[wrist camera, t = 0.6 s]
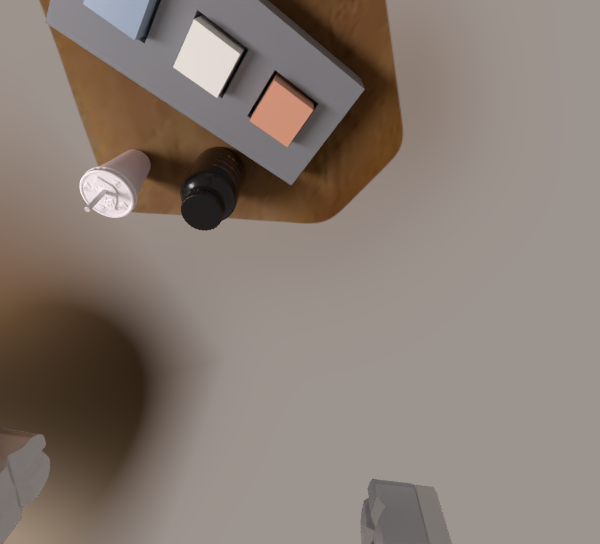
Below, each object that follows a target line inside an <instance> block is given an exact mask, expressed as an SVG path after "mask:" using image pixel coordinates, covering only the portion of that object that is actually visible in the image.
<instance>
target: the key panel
mask: <svg viewBox="0 0 600 544" xmlns="http://www.w3.org/2000/svg"><path fill="white" fill-rule="evenodd" d="M83 2H84V0H50V4H49V8H48V13H47V17H46V23H47V24H48V25H50V26H51V27H53V28H54V29H56V30H57V31H59V32H60V33H62V34H64V35H65V36H67V37H68V38H70V39H71V40H73V41H74V42H76V43H77V44H79V45H80V46H82V47H83V48H85V49H86V50H88V51H89V52H91V53H92V54H94V55H95V56H97V57H98V58H100V59H101V60H103V61H104V62H106V63H107V64H109V65H110V66H112V67H113V68H115V69H116V70H118V71H119V72H121V73H122V74H124V75H125V76H127V77H128V78H130V79H131V80H133V81H134V82H136V83H137V84H139V85H140V86H142V87H143V88H145V89H146V90H148V91H149V92H151V93H152V94H154V95H155V96H157V97H158V98H160V99H162V100H163V101H165V102H166V103H168V104H169V105H171V106H172V107H174V108H175V109H177V110H178V111H180V112H181V113H183V114H184V115H186V116H187V117H189V118H190V119H192V120H193V121H195V122H196V123H198V124H199V125H201V126H202V127H204V128H205V129H207V130H208V131H210V132H211V133H213V134H214V135H216V136H217V137H219V138H220V139H222V140H223V141H225V142H226V143H228V144H229V145H231V146H232V147H234V148H235V149H237V150H238V151H240V152H241V153H243V154H244V155H246V156H247V157H249V158H250V159H252V160H253V161H255V162H256V163H258V164H259V165H261V166H263V167H264V168H266V169H267V170H269V171H270V172H272V173H273V174H275V175H276V176H278V177H279V178H281V179H282V180H284V181H285V182H287V183H288V184H290V185H292V184H293V183H294V181H295V180H296V179H297V177H298V176H299V175H300V174H301V172H302V171H303V170H304V168H305V167H306V166H307V164H308V163H309V162H310V160H311V159H312V158H313V156H314V155H315V154H316V153H317V151H318V150H319V149H320V147H321V146H322V145H323V143H324V142H325V141H326V139H327V138H328V137H329V135H330V134H331V133H332V132H333V130H334V129H335V128H336V126H337V125H338V124H339V122H340V121H341V120H342V118H343V117H344V116H345V115H346V113H347V112H348V111H349V109H350V108H351V107H352V105H353V104H354V103H355V101H356V100H357V99H358V97H359V96H360V95H361V94H362V92H363V91H364V90H365V88H364V86H363V83H362V80H361V78H360V77H359V76H357V75H356V74H355V73H354V72H353V71H352V70H350V69H349V68H348V67H347V66H346V65H344V64H343V63H342V62H341V61H340V60H338V59H337V58H336V57H335V56H334V55H333V54H331V53H330V52H329V51H328V50H327V49H325V48H324V47H323V46H322V45H321V44H320V43H318V42H317V41H316V40H315V39H314V38H312V37H311V36H310V35H309V34H308V33H306V32H305V31H304V30H303V29H302V28H301V27H299V26H298V25H297V24H296V23H295V22H293V21H292V20H291V19H290V18H289V17H288V16H286V15H285V14H284V13H283V12H282V11H280V10H279V9H278V8H277V7H276V6H275V5H273V4H272V3H271V2H270V1H269V0H161V2H160V4H159V7H158V10H157V12H156V15H155V18H154V20H153V23H152V25H151V28H150V31H149V33H148V35H147V36H144V37H142V38H139V39H137V40H133V39H132V38H131V37H129V36H128V35H126V34H125V33H123V32H122V31H121V30H119V29H118V28H116V27H115V26H113V25H112V24H111V23H109V22H108V21H106V20H105V19H104V18H102V17H101V16H99V15H98V14H96V13H95V12H94V11H92V10H91V9H89V8H88V7H86V6H85V5H84V4H83ZM202 15H205V16H206V17H207V18H208V19H210V20H211V21H212V22H214V23H215V24H216V25H218V26H219V27H220V28H221V29H223V30H224V31H225V32H227V33H228V34H229V35H230V36H232V37H233V38H234V39H236V40H237V41H238V42H239V43H241V44H242V45H243V46H245V47H246V49H245V51H244V53H243V55H242V57H241V58H240V60H239V62H238V64H237V66H236V68H235V70H234V72H233V73H232V75H231V77H230V79H229V81H228V83H227V85H226V86H225V88H224V89H223V91H222V92H221V93H220V95H219V96H218V97H217V98H216V97H215V96H213V95H212V94H210V93H209V92H208V91H206V90H205V89H203V88H202V87H200V86H199V85H198V84H196V83H195V82H193V81H192V80H190V79H189V78H188V77H186V76H185V75H183V74H182V73H180V72H179V71H178V70H176V69H175V68H173V66H174V63H175V61H176V59H177V57H178V54H179V52H180V50H181V47H182V45H183V43H184V41H185V38H186V36H187V34H188V31H189V29H190V27H191V25H192V22H193V20H194V19H195V18H197V17H200V16H202ZM277 72H278V73H279V74H281V75H282V76H283V77H285V78H286V79H287V80H288V81H290V82H291V83H292V84H294V85H295V86H296V87H297V88H299V89H300V90H301V91H303V92H304V93H305V94H307V95H308V96H309V97H310V98H312V99H313V100H314V109H313V112H312V113H311V114H310V116H309V117H308V119H307V120H306V122H305V123H304V124H303V126H302V127H301V129H300V130H299V132H298V133H297V134H296V136H295V137H294V139H293V140H292V141H291V143H290V144H289V146H288V147H286V146H284V145H283V144H282V143H280V142H279V141H277V140H276V139H275V138H273V137H272V136H270V135H269V134H267V133H266V132H265V131H263V130H262V129H260V128H259V127H257V126H256V125H255V124H253V123H252V122H250V119H251V116H252V114H253V112H254V110H255V108H256V106H257V104H258V103H259V101H260V100H261V98H262V96H263V95H264V93H265V91H266V90H267V88H268V86H269V85H270V83H271V81H272V80H273V78H274V76H275V75H276V73H277Z"/></svg>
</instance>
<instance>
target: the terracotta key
mask: <svg viewBox="0 0 600 544" xmlns="http://www.w3.org/2000/svg"><path fill="white" fill-rule="evenodd" d="M313 109H314V100H313V99H312V98H310V97H309V96H308V95H307V94H305V93H304V92H303V91H301V90H300V89H299V88H297V87H296V86H295V85H294V84H292V83H291V82H290V81H288V80H287V79H286V78H285V77H283V76H282V75H281V74H279V73H278V72H277V73H276V75H275V76H274V78H273V80H272V81H271V83H270V85H269V86H268V88H267V90H266V91H265V93H264V95H263V96H262V98H261V100H260V101H259V103H258V104H257V106H256V108H255V110H254V112H253V114H252V116H251V119H250V122H252V123H253V124H255V125H256V126H257V127H259V128H260V129H262V130H263V131H265V132H266V133H267V134H269V135H270V136H272V137H273V138H275V139H276V140H277V141H279V142H280V143H282V144H283V145H284V146H286V147H288V146H289V144H290V143H291V141H292V140H293V139H294V137H295V136H296V134H297V133H298V132H299V130H300V129H301V127H302V126H303V124H304V123H305V122H306V120H307V119H308V117H309V116H310V114H311V113H312V112H313Z"/></svg>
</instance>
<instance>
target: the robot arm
mask: <svg viewBox="0 0 600 544" xmlns="http://www.w3.org/2000/svg"><path fill="white" fill-rule="evenodd" d="M45 446H46V442H45V439H44V435H39V434H33V433H26V432H21V431H14V430H8V429H2V428H0V544H3V543H4V542H5V540H6V539H7V537H8V536H9V535H10V533H11V532H12V530H13V529H14V528H15V526H16V525H17V524H18V522H19V521H20V520H21V518H22V507H24V506H25V505H27V504H29V503H30V502H32V501H33V500H35V499H36V497H37V496H38V495H39V493H40V492H41V490H42V489H43V487H44V485H45V483H46V480H47V478H48V475H49V471H50V461H49V457H48V456H47V455H46V454H45V453H44V452H43V451H42V449H43V448H44V447H45ZM368 495H369V498H368V499H366V500H365V501H364V504H363V508H362V514H361V540H362V544H452V542H451V539H450V536H449V532H448V529H447V526H446V523H445V519H444V516H443V512H442V509H441V506H440V502H439V500H438V496H437V492H436V491H435V489H434V488H433V487H429V486H420V485H412V484H409V483H402V482H393V481H385V480H377V479H372V480H371V481H370V483H369V486H368Z"/></svg>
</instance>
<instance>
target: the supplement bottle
mask: <svg viewBox="0 0 600 544" xmlns="http://www.w3.org/2000/svg"><path fill="white" fill-rule="evenodd" d="M244 177H245V171H244V167H243V164H242V162H241V160H240V159H239V158H238V157H237V156H236V155H235V154H234V153H233V152H231V151H230V150H227V149H224V148H219V147H215V148H210V149H207V150H205V151H204V152H203V153H201V154H200V156H199V157H198V159H197V160H196V162H195V163H194V165H193V167H192V168H191V170H190V172H189V173H188V175H187V177H186V178H185V180H184V182H183V184H182V186H181V192H180V195H181V200H182V206H181V212H182V216H183V218H184V219H185V221H186V222H187V223H188V224H189V225H191V226H192V227H194V228H195V229H198V230H211V229H214V228H215V227H217V226H218V225H219V224H220V222H221V221H222V220H224V219H226V218H228V217H229V216H230V215H231V214H232V213H233V211H234V209H235V207H236V204H237V201H238V197H239V194H240V191H241V188H242V185H243V181H244Z"/></svg>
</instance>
